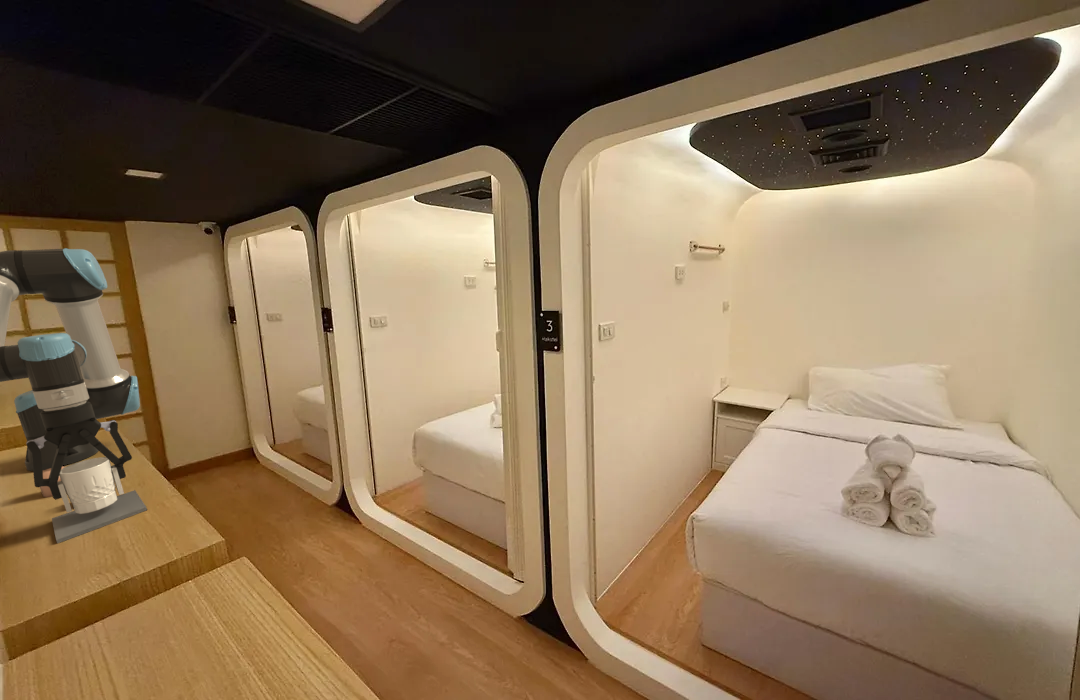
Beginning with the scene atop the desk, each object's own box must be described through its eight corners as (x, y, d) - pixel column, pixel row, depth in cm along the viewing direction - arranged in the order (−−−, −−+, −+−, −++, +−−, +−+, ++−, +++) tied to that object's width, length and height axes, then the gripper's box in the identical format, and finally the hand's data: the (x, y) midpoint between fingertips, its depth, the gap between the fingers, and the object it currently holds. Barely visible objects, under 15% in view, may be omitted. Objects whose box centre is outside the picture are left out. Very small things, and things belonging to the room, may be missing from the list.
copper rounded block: (54, 488, 112) (47, 468, 111) (76, 485, 113) (70, 464, 112) (37, 498, 107) (29, 477, 106) (60, 494, 108) (53, 473, 107)
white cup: (72, 507, 96) (58, 467, 94) (120, 492, 102) (108, 454, 100) (71, 520, 91) (57, 477, 89) (122, 503, 96) (109, 462, 94)
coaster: (52, 521, 96) (51, 518, 96) (135, 493, 106) (135, 490, 106) (57, 543, 87) (56, 540, 87) (147, 510, 98) (146, 506, 98)
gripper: (-12, 424, 81) (26, 530, 86) (132, 394, 97) (158, 485, 101) (-11, 417, 86) (25, 518, 90) (126, 389, 101) (151, 477, 106)
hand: (95, 500), depth 96 cm, fingers closed on white cup, 8 cm apart
